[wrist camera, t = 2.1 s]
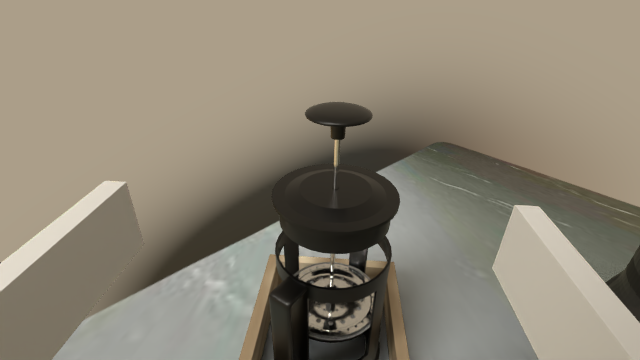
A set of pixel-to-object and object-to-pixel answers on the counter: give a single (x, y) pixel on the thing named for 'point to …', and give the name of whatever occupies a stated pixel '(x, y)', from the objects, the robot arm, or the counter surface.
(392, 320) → the wooden frame
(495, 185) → the counter surface
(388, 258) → the french press
